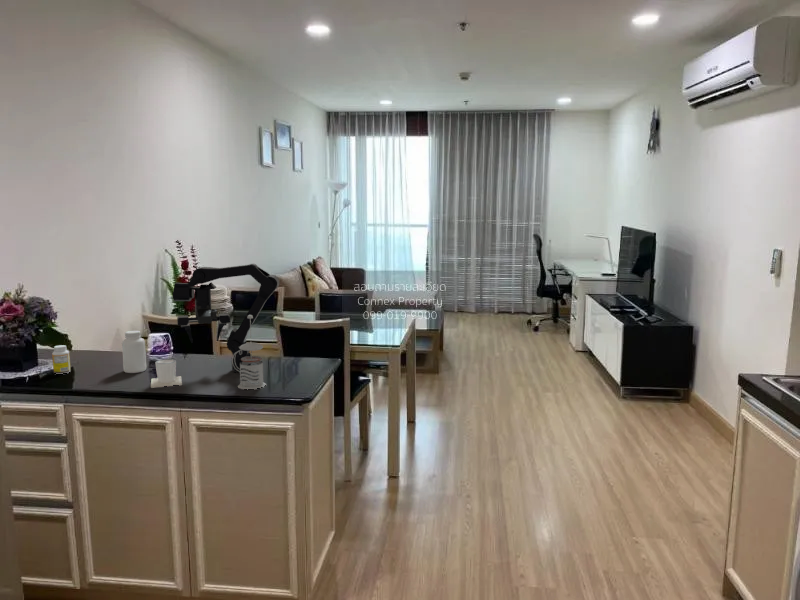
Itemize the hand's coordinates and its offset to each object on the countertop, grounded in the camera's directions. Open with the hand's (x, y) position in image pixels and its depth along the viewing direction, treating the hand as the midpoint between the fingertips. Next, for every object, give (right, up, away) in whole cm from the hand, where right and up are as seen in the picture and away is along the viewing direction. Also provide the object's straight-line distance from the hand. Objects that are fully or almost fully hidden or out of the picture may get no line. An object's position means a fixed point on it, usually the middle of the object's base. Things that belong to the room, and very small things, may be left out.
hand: (204, 341), depth 228 cm
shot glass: (-8, -13, -15) cm, 22 cm away
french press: (+21, -14, -18) cm, 31 cm away
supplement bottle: (-51, -12, -4) cm, 53 cm away
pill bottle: (-26, -11, 0) cm, 29 cm away
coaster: (-8, -13, -15) cm, 22 cm away
